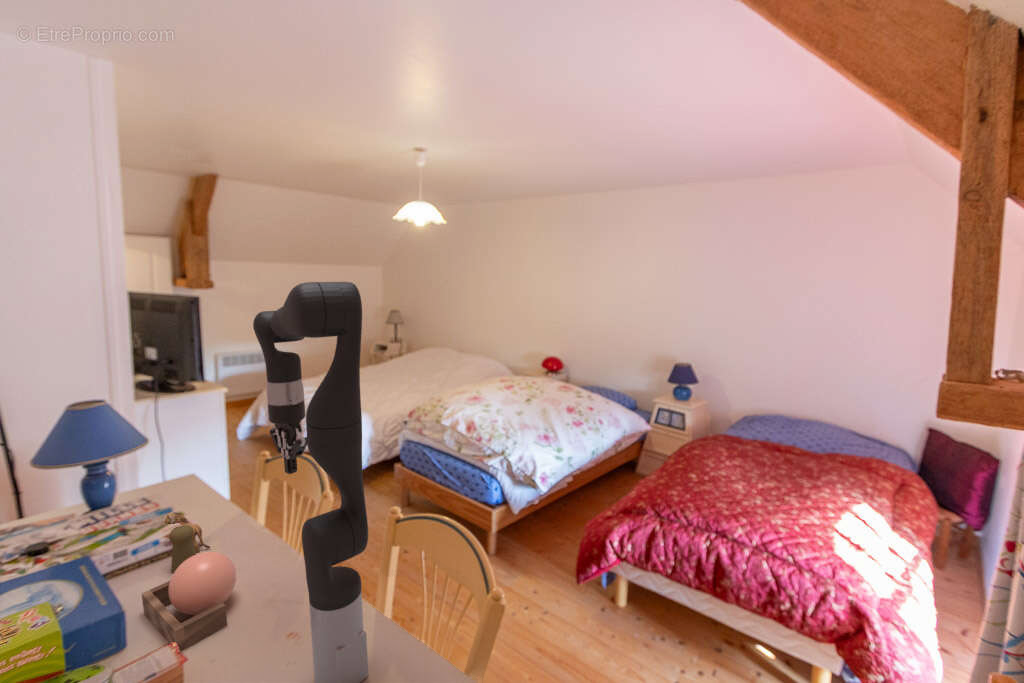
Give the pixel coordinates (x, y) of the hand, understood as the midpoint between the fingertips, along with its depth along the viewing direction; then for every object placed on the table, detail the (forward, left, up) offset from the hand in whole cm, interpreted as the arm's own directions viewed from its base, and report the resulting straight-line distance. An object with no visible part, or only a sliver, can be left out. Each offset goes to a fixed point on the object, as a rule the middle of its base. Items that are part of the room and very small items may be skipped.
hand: (291, 472), depth 111 cm
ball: (+13, +15, -24) cm, 32 cm away
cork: (+34, +12, -31) cm, 48 cm away
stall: (+13, +20, -31) cm, 39 cm away
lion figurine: (+45, +8, -31) cm, 55 cm away
